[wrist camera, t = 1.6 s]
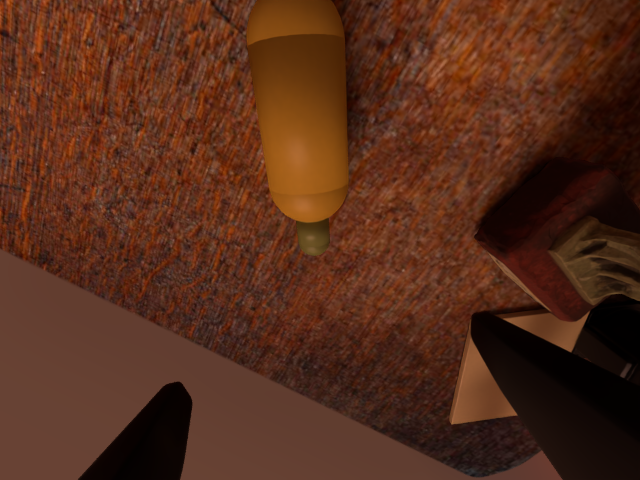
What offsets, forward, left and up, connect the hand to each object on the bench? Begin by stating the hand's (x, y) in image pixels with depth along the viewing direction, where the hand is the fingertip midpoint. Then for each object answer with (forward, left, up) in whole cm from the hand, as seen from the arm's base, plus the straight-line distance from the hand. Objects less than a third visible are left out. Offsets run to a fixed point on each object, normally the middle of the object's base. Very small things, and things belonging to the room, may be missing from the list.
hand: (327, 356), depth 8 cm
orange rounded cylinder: (0, -5, -12) cm, 13 cm away
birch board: (-19, +19, -12) cm, 30 cm away
